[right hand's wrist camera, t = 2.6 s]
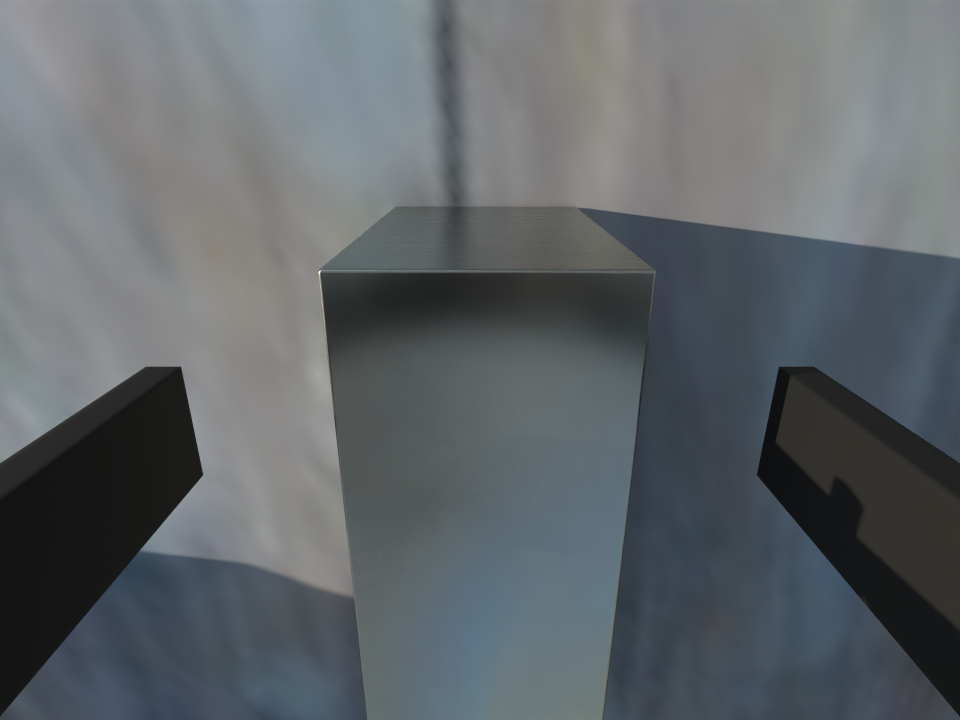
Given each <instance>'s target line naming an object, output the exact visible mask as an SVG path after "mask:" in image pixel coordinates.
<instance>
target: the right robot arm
mask: <svg viewBox="0 0 960 720" xmlns="http://www.w3.org/2000/svg"><path fill="white" fill-rule="evenodd" d="M202 476H203V472H202V467H201V462H200V457H199V452H198V447H197V443H196V438H195V433H194V428H193V423H192V418H191V413H190V409H189V404H188V399H187V394H186V389H185V384H184V379H183V374H182V370H181V367H145V368H143V369H142V370H140V371H139V372H137V373H136V374H134V375H133V376H131V377H130V378H128V379H127V380H125V381H124V382H122V383H121V384H119V385H118V386H116V387H115V388H113V389H112V390H110V391H109V392H107V393H106V394H104V395H103V396H101V397H100V398H98V399H97V400H95V401H94V402H92V403H91V404H89V405H88V406H86V407H85V408H83V409H82V410H80V411H79V412H77V413H76V414H74V415H73V416H71V417H69V418H68V419H66V420H65V421H63V422H62V423H60V424H59V425H57V426H56V427H54V428H53V429H51V430H50V431H48V432H47V433H45V434H44V435H42V436H41V437H39V438H38V439H36V440H35V441H33V442H32V443H30V444H29V445H27V446H26V447H24V448H23V449H21V450H20V451H18V452H17V453H15V454H14V455H12V456H11V457H9V458H8V459H6V460H5V461H3V462H2V463H0V716H1V715H2V714H3V712H4V711H5V710H6V709H7V708H8V706H9V705H10V704H11V703H12V702H13V701H14V699H15V698H16V697H17V696H18V695H19V693H20V692H21V691H22V690H23V689H24V687H25V686H26V685H27V684H28V683H29V681H30V680H31V679H32V678H33V677H34V676H35V674H36V673H37V672H38V671H39V670H40V668H41V667H42V666H43V665H44V664H45V662H46V661H47V660H48V659H49V658H50V657H51V655H52V654H53V653H54V652H55V651H56V649H57V648H58V647H59V646H60V645H61V643H62V642H63V641H64V640H65V639H66V637H67V636H68V635H69V634H70V633H71V632H72V630H73V629H74V628H75V627H76V626H77V624H78V623H79V622H80V621H81V620H82V618H83V617H84V616H85V615H86V614H87V612H88V611H89V610H90V609H91V608H92V607H93V605H94V604H95V603H96V602H97V601H98V599H99V598H100V597H101V596H102V595H103V593H104V592H105V591H106V590H107V589H108V588H109V586H110V585H111V584H112V583H113V582H114V580H115V579H116V578H117V577H118V576H119V574H120V573H121V572H122V571H123V570H124V568H125V567H126V566H127V565H128V564H129V563H130V561H131V560H132V559H133V558H134V557H135V555H136V554H137V553H138V552H139V551H140V549H141V548H142V547H143V546H144V545H145V543H146V542H147V541H148V540H149V539H150V538H151V536H152V535H153V534H154V533H155V532H156V530H157V529H158V528H159V527H160V526H161V524H162V523H163V522H164V521H165V520H166V519H167V517H168V516H169V515H170V514H171V513H172V511H173V510H174V509H175V508H176V507H177V505H178V504H179V503H180V502H181V501H182V499H183V498H184V497H185V496H186V495H187V494H188V492H189V491H190V490H191V489H192V488H193V486H194V485H195V484H196V483H197V482H198V480H199V479H200V478H201V477H202ZM757 476H758V477H759V478H760V479H761V480H762V482H763V483H764V484H765V485H766V486H767V488H768V489H769V490H770V491H771V492H772V494H773V495H774V496H775V497H776V498H777V499H778V501H779V502H780V503H781V504H782V505H783V507H784V508H785V509H786V510H787V511H788V513H789V514H790V515H791V516H792V517H793V519H794V520H795V521H796V522H797V523H798V524H799V526H800V527H801V528H802V529H803V530H804V532H805V533H806V534H807V535H808V536H809V538H810V539H811V540H812V541H813V542H814V543H815V545H816V546H817V547H818V548H819V549H820V551H821V552H822V553H823V554H824V555H825V557H826V558H827V559H828V560H829V561H830V563H831V564H832V565H833V566H834V567H835V568H836V570H837V571H838V572H839V573H840V574H841V576H842V577H843V578H844V579H845V580H846V582H847V583H848V584H849V585H850V586H851V588H852V589H853V590H854V591H855V592H856V593H857V595H858V596H859V597H860V598H861V599H862V601H863V602H864V603H865V604H866V605H867V607H868V608H869V609H870V610H871V611H872V612H873V614H874V615H875V616H876V617H877V618H878V620H879V621H880V622H881V623H882V624H883V626H884V627H885V628H886V629H887V630H888V632H889V633H890V634H891V635H892V636H893V637H894V639H895V640H896V641H897V642H898V643H899V645H900V646H901V647H902V648H903V649H904V651H905V652H906V653H907V654H908V655H909V657H910V658H911V659H912V660H913V661H914V662H915V664H916V665H917V666H918V667H919V668H920V670H921V671H922V672H923V673H924V674H925V676H926V677H927V678H928V679H929V680H930V681H931V683H932V684H933V685H934V686H935V687H936V689H937V690H938V691H939V692H940V693H941V695H942V696H943V697H944V698H945V699H946V701H947V702H948V703H949V704H950V705H951V706H952V708H953V709H954V710H955V711H956V712H957V714H958V715H959V716H960V463H958V462H957V461H955V460H954V459H952V458H951V457H949V456H948V455H946V454H945V453H943V452H942V451H940V450H939V449H937V448H936V447H934V446H933V445H931V444H930V443H928V442H927V441H925V440H924V439H922V438H921V437H919V436H918V435H916V434H915V433H913V432H912V431H910V430H909V429H907V428H906V427H904V426H903V425H901V424H900V423H898V422H897V421H895V420H894V419H892V418H891V417H889V416H887V415H886V414H884V413H883V412H881V411H880V410H878V409H877V408H875V407H874V406H872V405H871V404H869V403H868V402H866V401H865V400H863V399H862V398H860V397H859V396H857V395H856V394H854V393H853V392H851V391H850V390H848V389H847V388H845V387H844V386H842V385H841V384H839V383H838V382H836V381H835V380H833V379H832V378H830V377H829V376H827V375H826V374H824V373H823V372H821V371H820V370H818V369H817V368H815V367H779V370H778V374H777V379H776V384H775V389H774V394H773V399H772V404H771V409H770V413H769V418H768V423H767V428H766V433H765V438H764V443H763V447H762V452H761V457H760V462H759V467H758V472H757Z"/></svg>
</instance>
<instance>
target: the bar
mask: <svg viewBox="0 0 960 720" xmlns="http://www.w3.org/2000/svg"><path fill="white" fill-rule="evenodd" d="M318 273H319V282H320V292H321V301H322V310H323V319H324V328H325V337H326V346H327V356H328V365H329V374H330V383H331V392H332V401H333V410H334V419H335V429H336V438H337V447H338V456H339V465H340V474H341V483H342V493H343V502H344V511H345V520H346V529H347V538H348V547H349V557H350V566H351V575H352V584H353V593H354V602H355V611H356V620H357V630H358V639H359V648H360V657H361V666H362V675H363V684H364V694H365V703H366V712H367V720H603V715H604V707H605V699H606V690H607V682H608V674H609V665H610V657H611V648H612V640H613V632H614V623H615V615H616V607H617V598H618V590H619V581H620V573H621V565H622V556H623V548H624V539H625V531H626V523H627V514H628V506H629V498H630V489H631V481H632V472H633V464H634V456H635V447H636V439H637V431H638V422H639V414H640V405H641V397H642V389H643V380H644V372H645V363H646V355H647V347H648V338H649V330H650V322H651V313H652V305H653V296H654V288H655V280H656V270H655V269H653V268H652V267H651V266H650V265H648V264H647V263H646V262H645V261H643V260H642V259H641V258H640V257H638V256H637V255H636V254H635V253H633V252H632V251H631V250H629V249H628V248H627V247H626V246H624V245H623V244H622V243H621V242H619V241H618V240H617V239H616V238H614V237H613V236H612V235H610V234H609V233H608V232H607V231H605V230H604V229H603V228H602V227H600V226H599V225H598V224H597V223H595V222H594V221H593V220H591V219H590V218H589V217H588V216H586V215H585V214H584V213H583V212H581V211H580V210H579V209H578V208H576V207H395V208H394V209H392V210H391V211H390V212H389V213H387V214H386V215H385V216H384V217H383V218H381V219H380V220H379V221H378V222H377V223H375V224H374V225H373V226H372V227H370V228H369V229H368V230H367V231H366V232H364V233H363V234H362V235H361V236H360V237H358V238H357V239H356V240H355V241H353V242H352V243H351V244H350V245H349V246H347V247H346V248H345V249H344V250H342V251H341V252H340V253H339V254H338V255H336V256H335V257H334V258H333V259H332V260H330V261H329V262H328V263H327V264H325V265H324V266H323V267H322V268H321V269H319V272H318Z"/></svg>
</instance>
